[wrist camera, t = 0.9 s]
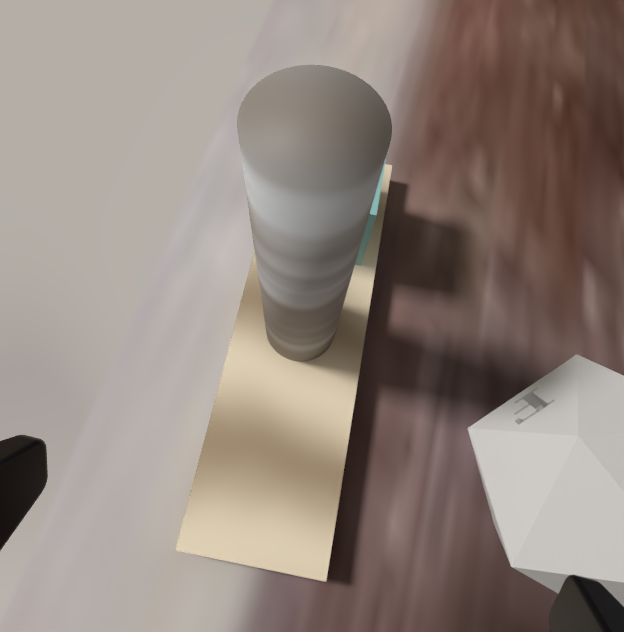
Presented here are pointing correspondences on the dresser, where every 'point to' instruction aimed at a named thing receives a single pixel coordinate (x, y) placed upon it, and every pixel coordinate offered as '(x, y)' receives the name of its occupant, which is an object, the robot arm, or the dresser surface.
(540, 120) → the dresser surface
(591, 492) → the die
